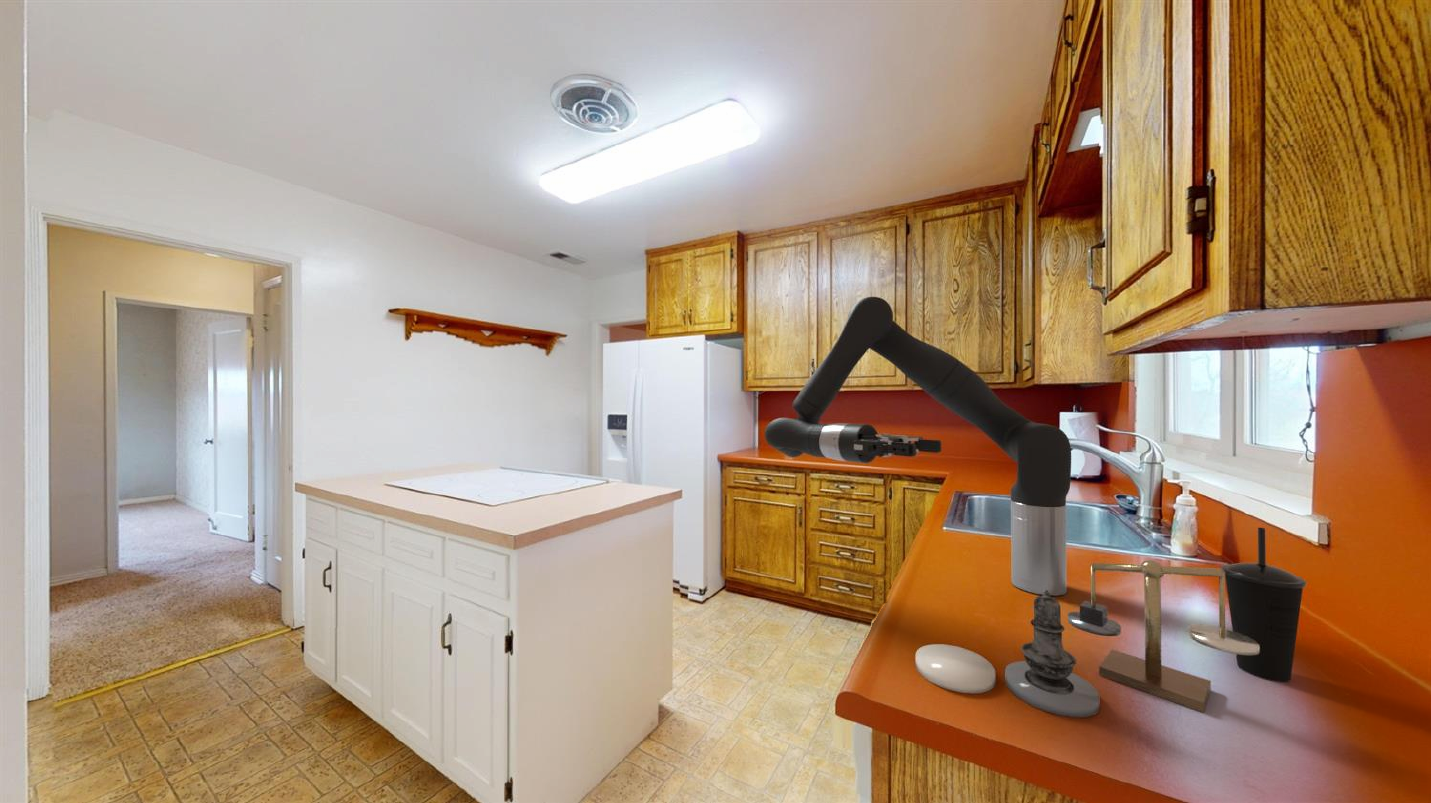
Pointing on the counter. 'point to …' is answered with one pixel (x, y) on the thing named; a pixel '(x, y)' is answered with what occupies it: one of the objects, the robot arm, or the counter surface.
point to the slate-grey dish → (1069, 705)
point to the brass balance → (1159, 637)
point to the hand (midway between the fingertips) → (928, 448)
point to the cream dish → (955, 668)
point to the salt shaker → (1048, 649)
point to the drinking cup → (1265, 613)
